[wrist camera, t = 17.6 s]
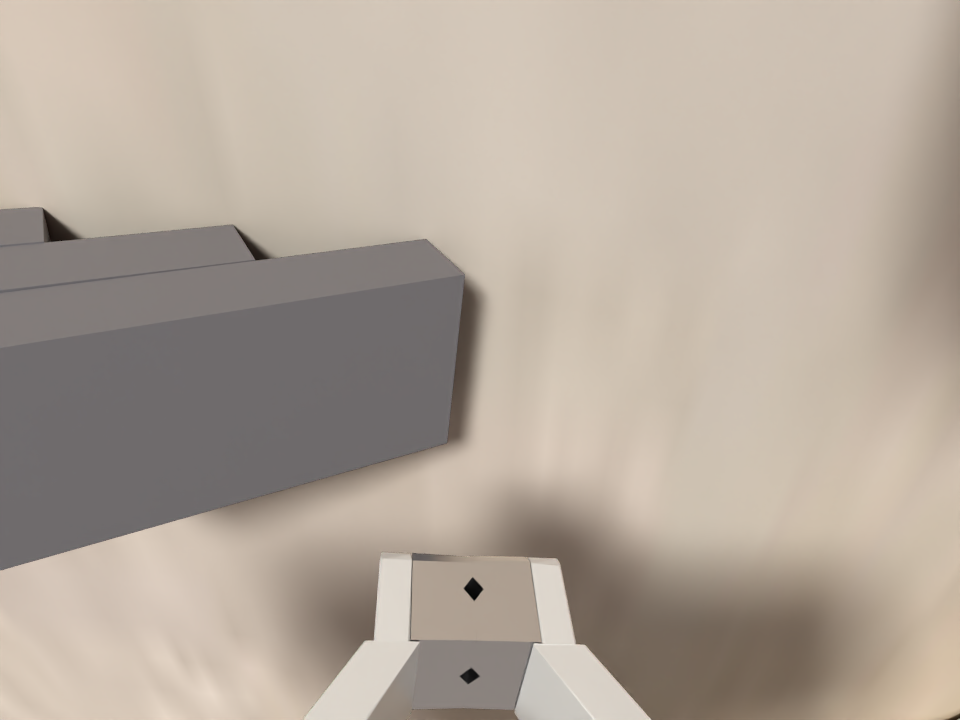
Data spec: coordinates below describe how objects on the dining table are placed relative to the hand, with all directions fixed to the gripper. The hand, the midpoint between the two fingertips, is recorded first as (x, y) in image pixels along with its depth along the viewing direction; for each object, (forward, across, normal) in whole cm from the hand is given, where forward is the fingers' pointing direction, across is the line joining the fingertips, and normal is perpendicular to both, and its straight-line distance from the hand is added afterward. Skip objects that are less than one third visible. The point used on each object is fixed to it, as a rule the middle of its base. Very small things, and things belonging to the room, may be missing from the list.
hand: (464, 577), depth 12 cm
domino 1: (+7, 0, 0) cm, 7 cm away
